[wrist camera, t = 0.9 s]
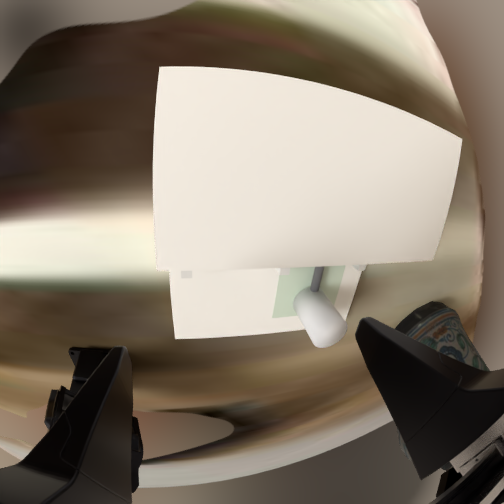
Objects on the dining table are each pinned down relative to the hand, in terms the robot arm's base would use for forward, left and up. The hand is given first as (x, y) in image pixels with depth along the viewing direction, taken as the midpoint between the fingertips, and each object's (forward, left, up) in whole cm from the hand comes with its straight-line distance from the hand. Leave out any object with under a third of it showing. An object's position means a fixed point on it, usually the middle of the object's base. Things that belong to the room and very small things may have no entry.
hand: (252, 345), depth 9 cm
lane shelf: (-1, -5, -14) cm, 15 cm away
